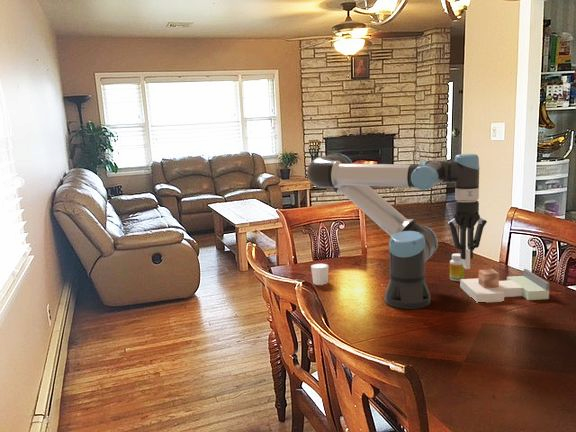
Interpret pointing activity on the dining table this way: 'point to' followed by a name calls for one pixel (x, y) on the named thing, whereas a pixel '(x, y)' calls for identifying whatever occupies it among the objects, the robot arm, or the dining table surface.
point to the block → (488, 278)
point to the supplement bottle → (456, 268)
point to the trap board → (508, 288)
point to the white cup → (320, 273)
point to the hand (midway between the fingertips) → (466, 267)
